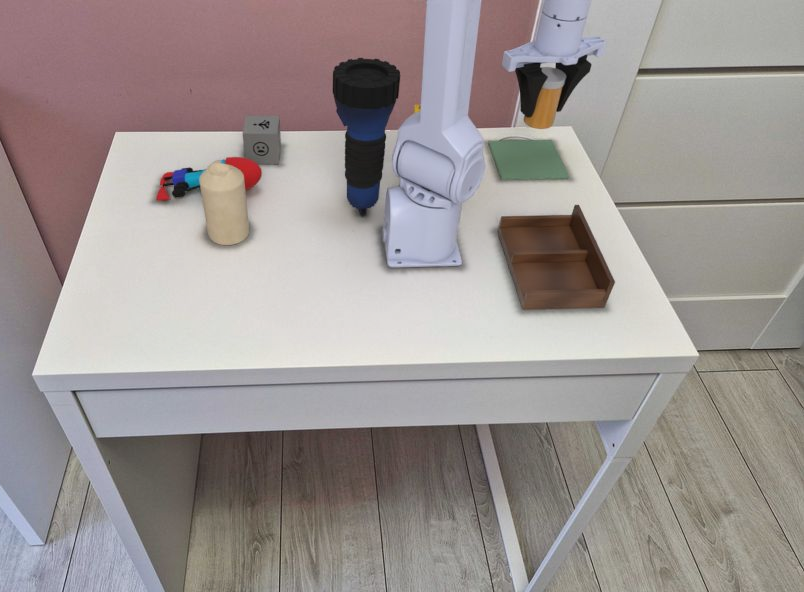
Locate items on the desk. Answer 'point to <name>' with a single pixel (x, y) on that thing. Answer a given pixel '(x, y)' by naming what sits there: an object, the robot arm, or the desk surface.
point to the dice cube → (262, 139)
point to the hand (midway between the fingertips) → (540, 111)
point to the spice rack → (555, 261)
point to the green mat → (527, 160)
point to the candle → (224, 203)
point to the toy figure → (190, 179)
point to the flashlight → (365, 123)
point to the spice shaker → (547, 99)
